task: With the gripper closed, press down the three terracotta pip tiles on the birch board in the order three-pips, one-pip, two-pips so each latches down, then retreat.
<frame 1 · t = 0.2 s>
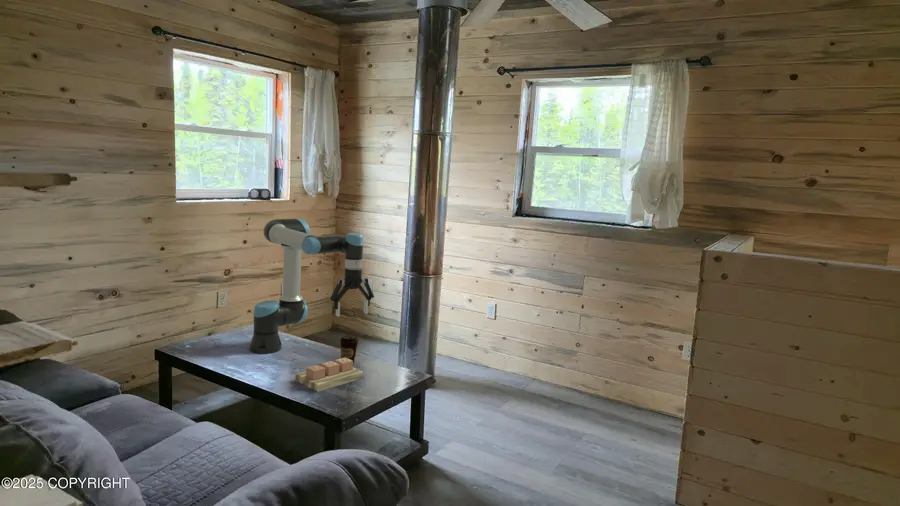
hand: (351, 314, 249), 27 cm above the table, fingers open, 13 cm apart
tile three pips: (343, 364, 247), point 5 cm above the table, slide at 0.0 cm
tile two pips: (330, 368, 241), point 5 cm above the table, slide at 0.0 cm
coffee cup: (348, 363, 263), on the table
tile one pip: (315, 372, 235), point 5 cm above the table, slide at 0.0 cm
board: (329, 379, 242), on the table
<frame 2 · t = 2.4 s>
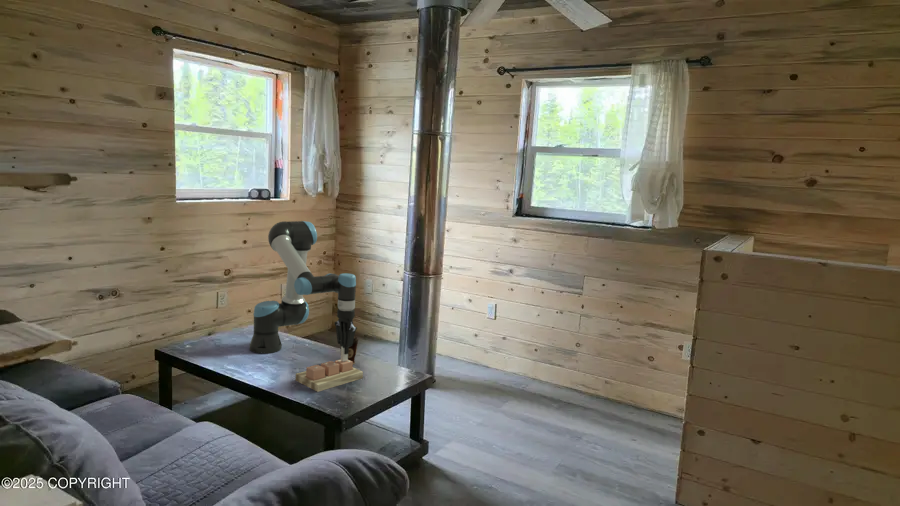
hand: (344, 360, 246), 7 cm above the table, fingers closed
tile three pips: (343, 365, 247), point 4 cm above the table, slide at 0.5 cm, touching gripper
everything else where it was.
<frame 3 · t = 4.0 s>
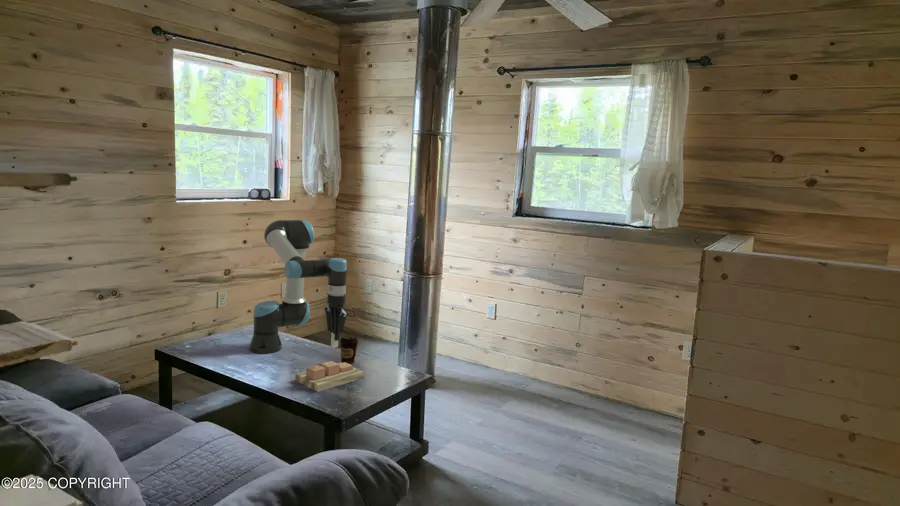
hand: (334, 346, 241), 14 cm above the table, fingers closed
tile three pips: (343, 369, 247), point 3 cm above the table, slide at 2.3 cm
everything else where it was.
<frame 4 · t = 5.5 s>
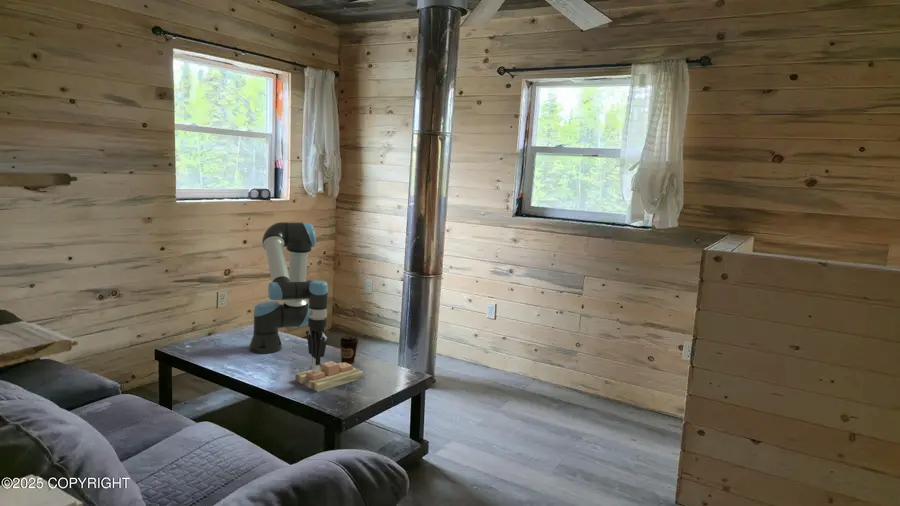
hand: (315, 371, 235), 5 cm above the table, fingers closed
tile one pip: (315, 377, 236), point 3 cm above the table, slide at 2.1 cm, touching gripper
everything else where it was.
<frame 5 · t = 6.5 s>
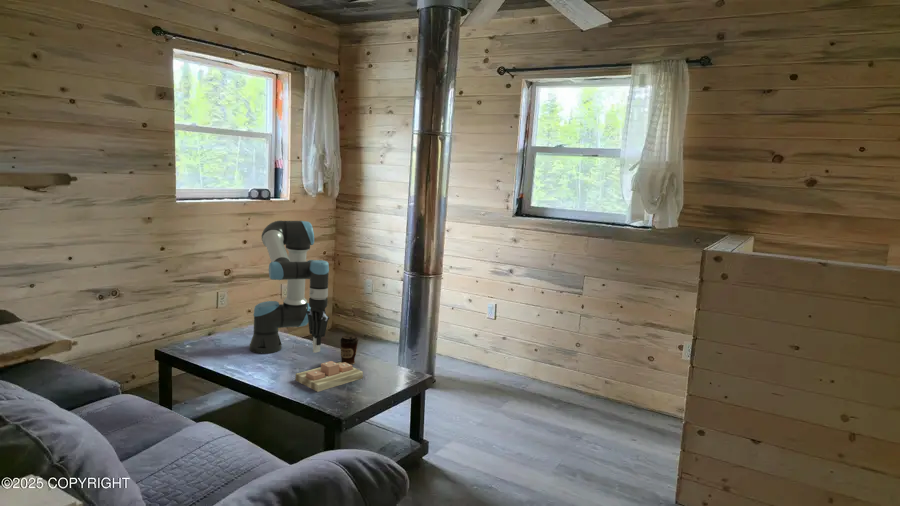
hand: (316, 351, 234), 14 cm above the table, fingers closed
tile one pip: (315, 377, 236), point 3 cm above the table, slide at 2.3 cm
everything else where it was.
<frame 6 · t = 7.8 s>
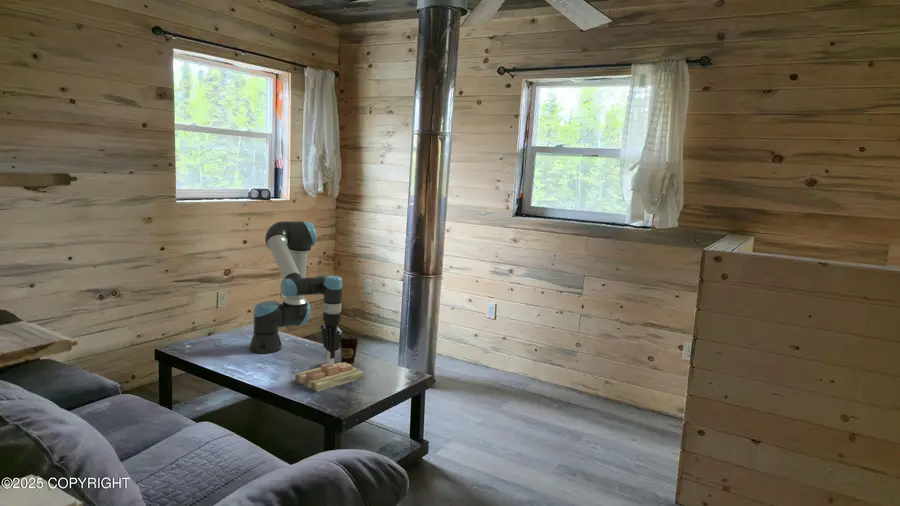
hand: (330, 364, 241), 7 cm above the table, fingers closed
tile two pips: (329, 370, 241), point 4 cm above the table, slide at 0.7 cm, touching gripper
everything else where it was.
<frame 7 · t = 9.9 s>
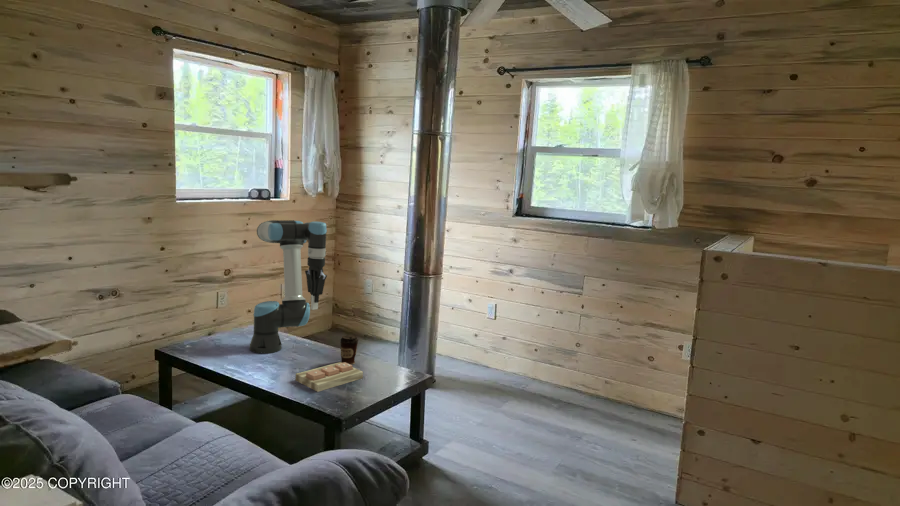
hand: (314, 309, 246), 29 cm above the table, fingers closed
tile two pips: (329, 373, 241), point 3 cm above the table, slide at 2.3 cm
everything else where it was.
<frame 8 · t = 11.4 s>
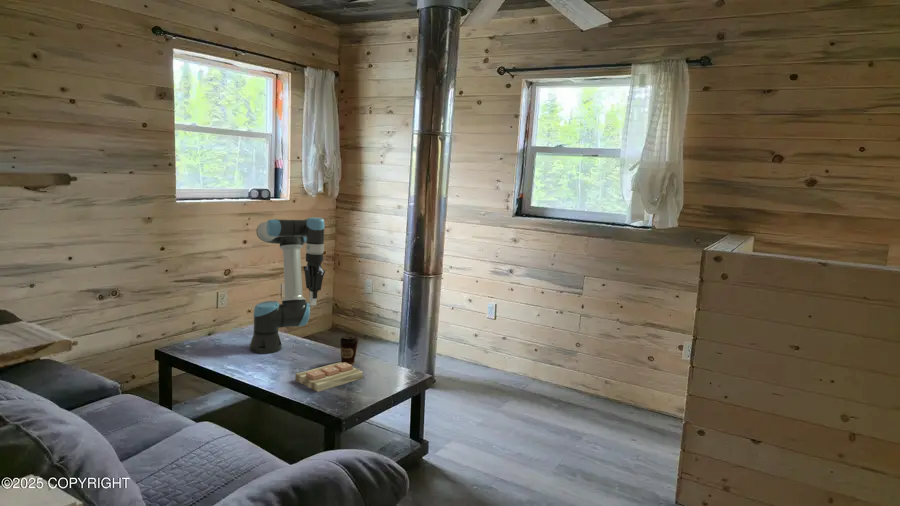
hand: (312, 305, 246), 30 cm above the table, fingers closed
nothing on the table moved.
at the end: tile three pips slide at 2.3 cm; tile one pip slide at 2.3 cm; tile two pips slide at 2.3 cm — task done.
